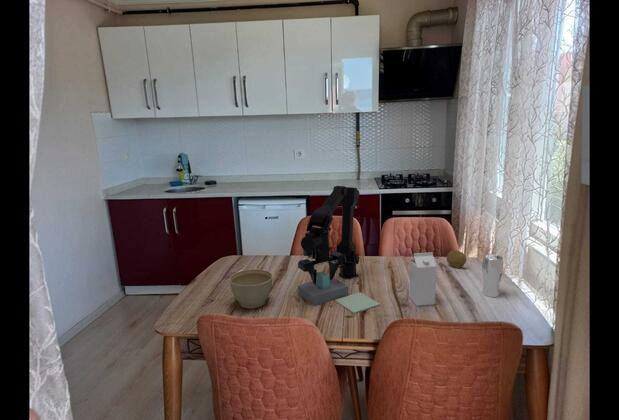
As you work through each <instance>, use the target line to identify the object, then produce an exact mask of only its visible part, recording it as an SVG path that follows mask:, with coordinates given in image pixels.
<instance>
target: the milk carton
mask: <svg viewBox="0 0 619 420" xmlns="http://www.w3.org/2000/svg"><path fill="white" fill-rule="evenodd" d="M409 269H410V270H409V299H410V300H411V301H412V302H413V303H414V304H415V306H417V307H421V306H431V305H432V306H433V305H436V292H437V289H436V288H437V287H436V285H437V263H436V260H435V258H434V252H432V251H431V252H417V253H413V257H412V258H411V259H410V266H409Z"/></svg>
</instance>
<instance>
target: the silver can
mask: <svg viewBox="0 0 619 420" xmlns="http://www.w3.org/2000/svg"><path fill="white" fill-rule="evenodd" d="M482 259H483V260H482V268H481V269H482V278H483V279H482V280H483V287H482V289H481V293H483V294H484V295H483V294H482V295H483V296H485V297H488V296H489V297H488V298H498V297H499V296H500V283H501V279H502V276H503V270H504V257H503V256H502V255H500V254H494V253H493V254H492V253H487V254H484V255H483V258H482Z"/></svg>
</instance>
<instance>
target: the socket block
mask: <svg viewBox="0 0 619 420" xmlns="http://www.w3.org/2000/svg"><path fill="white" fill-rule="evenodd" d="M329 284H330V288H326V289H321V288H320V287H318V286H317V285H314V284H313V281H312V280H311V281H309V282H305V283H302V284H298V285H297V292H298V293H297V295H298V296H300V297H301V298H302V299H303V300H304V301H306V302H308V303H309V305H311V306H312V307H315V306H320V305H323V304H327V303H330V302H332V301H335V300H336V299H339V298H343V297H346V296H349V293H350V291H349V285H347V284H346V283H344V282H342V281H340V279H337V278H335V276H334V277H333V279H332V280H330V278H329Z"/></svg>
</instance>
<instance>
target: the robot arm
mask: <svg viewBox="0 0 619 420" xmlns="http://www.w3.org/2000/svg"><path fill="white" fill-rule="evenodd" d="M359 198H360V190H358V188H357V187H354V186H350V187H349V186H344V185H335V186H333V188H332V191H331V193H330V195H329V196H328V198H327V199H326V200H325V202H324V203H323V204H322V205H321V206H320V207H318V208H316V209H314V211H313V212H312V213H311V215H310V218H309V220H308V223H307V226H306V230H305V231H306V232H305V233H304V235H305V236H303V237H302V239H301V241H300V247H301V249H303V250H302V251H303V256H304V257H307V258H305V259H302V260H299V261H298V263H297V267H298V269H299V270H301V271H303V272H305V273H307V272H308V274H309V275H310V279H311V282H312V281H313V284H314V285H316V277H317V272H318V270H317V269H316V268H315V267H316V266H319V265H324V264H328V267H329V268H328V269H329V270H328V272H329V273H328V275H329V278H330V280H332V279H333V277H334V278H335V275H336V273H337V271H338V269H339V272H338V275H339V276H340V277H343V278H344V279H346V280H347V279H350V278H355V277H358V276H359V274H358V273H357V265H359V262H360V255H358V253H357V250H356V245H355V243H354V241H353V239H354V238H353V235H354V234H353V233H354V214H355V207H356V206H357V204H358V203H359ZM339 205H341V207H342V217H341V234H340V235H341V236H340V238H341V239H340V242H338V244H337V245H336V248H335V249H336V250H335V251H336V252H331V253H330V251H331V250H332V248H331V246H330V235H329V234H330V231H331V230H332V228H331V224H332V222H333V220H334V217H333V214H334V212H335V210H336V209H337V208H338V206H339ZM308 258H311V259H312V260H309V259H308Z"/></svg>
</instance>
